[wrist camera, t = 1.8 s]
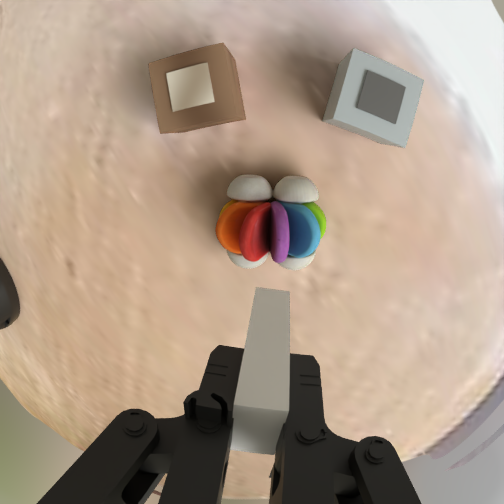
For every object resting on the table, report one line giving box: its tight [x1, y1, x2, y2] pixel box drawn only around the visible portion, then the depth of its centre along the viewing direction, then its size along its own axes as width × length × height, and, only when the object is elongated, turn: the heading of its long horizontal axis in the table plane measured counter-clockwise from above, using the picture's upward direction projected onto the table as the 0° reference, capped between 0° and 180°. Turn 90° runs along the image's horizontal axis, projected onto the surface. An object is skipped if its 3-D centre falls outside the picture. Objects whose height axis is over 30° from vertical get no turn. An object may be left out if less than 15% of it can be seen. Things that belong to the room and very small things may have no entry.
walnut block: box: [148, 43, 246, 134], centre depth 22 cm, size 6×6×6 cm
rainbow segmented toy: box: [216, 174, 326, 270], centre depth 26 cm, size 8×10×7 cm
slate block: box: [322, 48, 424, 148], centre depth 21 cm, size 6×6×6 cm
